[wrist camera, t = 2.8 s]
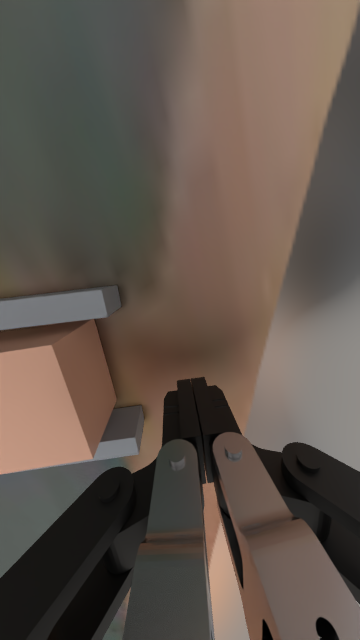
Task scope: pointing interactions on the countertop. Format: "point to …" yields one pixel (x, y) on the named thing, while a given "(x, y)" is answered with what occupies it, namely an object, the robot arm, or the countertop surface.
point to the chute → (76, 306)
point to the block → (52, 395)
